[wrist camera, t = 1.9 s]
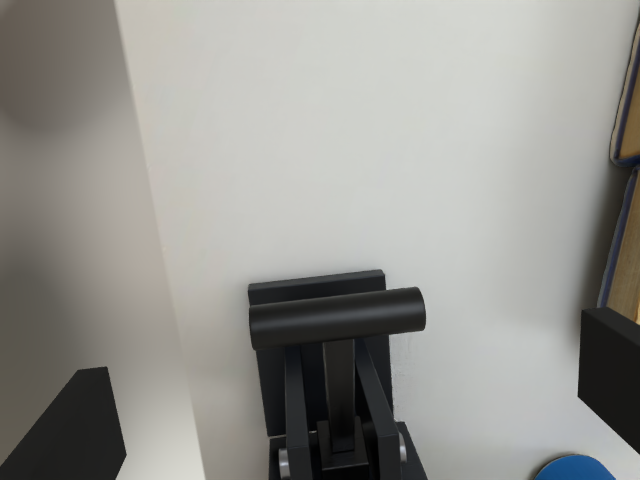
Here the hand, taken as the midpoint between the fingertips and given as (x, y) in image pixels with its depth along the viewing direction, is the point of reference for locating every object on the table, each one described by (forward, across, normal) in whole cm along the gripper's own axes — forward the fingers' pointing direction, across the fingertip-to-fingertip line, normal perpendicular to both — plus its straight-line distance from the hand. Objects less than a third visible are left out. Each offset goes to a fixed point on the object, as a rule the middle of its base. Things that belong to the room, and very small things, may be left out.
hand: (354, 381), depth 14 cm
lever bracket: (+19, 0, -9) cm, 21 cm away
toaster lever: (+7, 0, -4) cm, 8 cm away
